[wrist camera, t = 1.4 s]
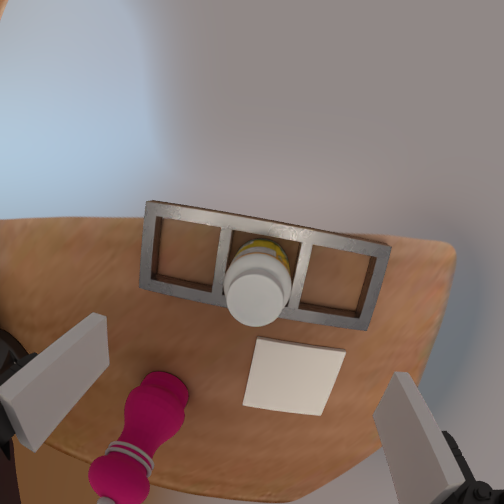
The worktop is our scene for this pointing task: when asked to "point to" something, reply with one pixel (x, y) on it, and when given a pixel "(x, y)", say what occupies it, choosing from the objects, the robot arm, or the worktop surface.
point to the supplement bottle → (258, 283)
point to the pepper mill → (139, 439)
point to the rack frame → (268, 228)
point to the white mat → (292, 376)
